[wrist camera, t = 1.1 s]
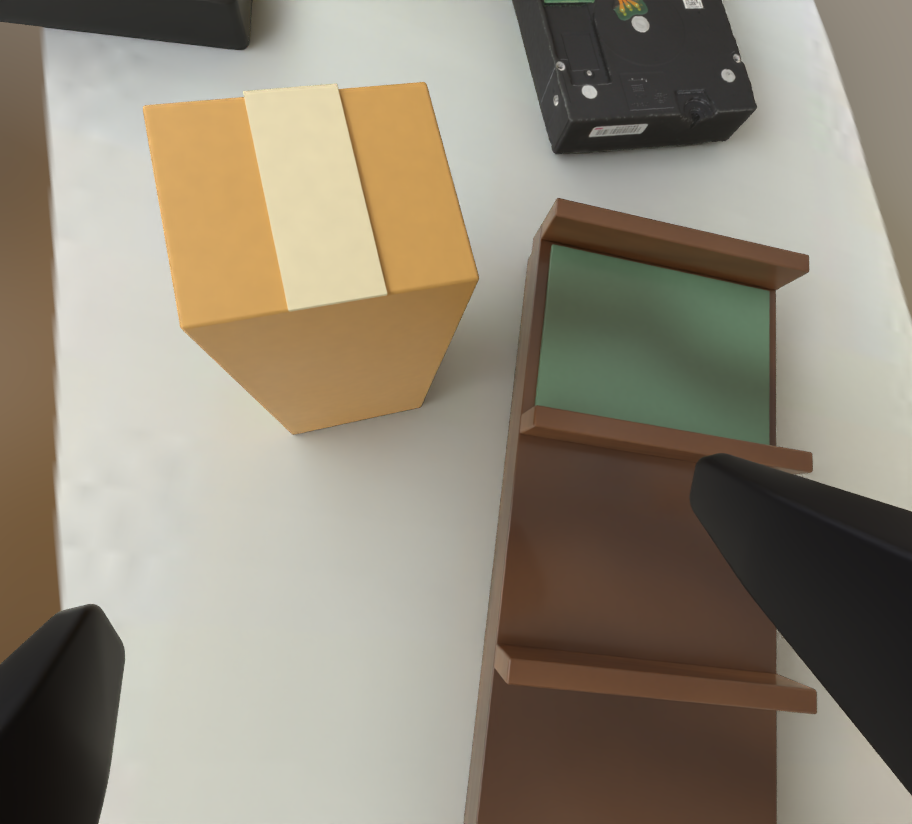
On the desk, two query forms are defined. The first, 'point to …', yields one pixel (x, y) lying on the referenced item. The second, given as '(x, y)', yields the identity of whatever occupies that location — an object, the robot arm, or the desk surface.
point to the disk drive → (634, 72)
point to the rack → (631, 535)
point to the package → (314, 244)
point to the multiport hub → (141, 19)
